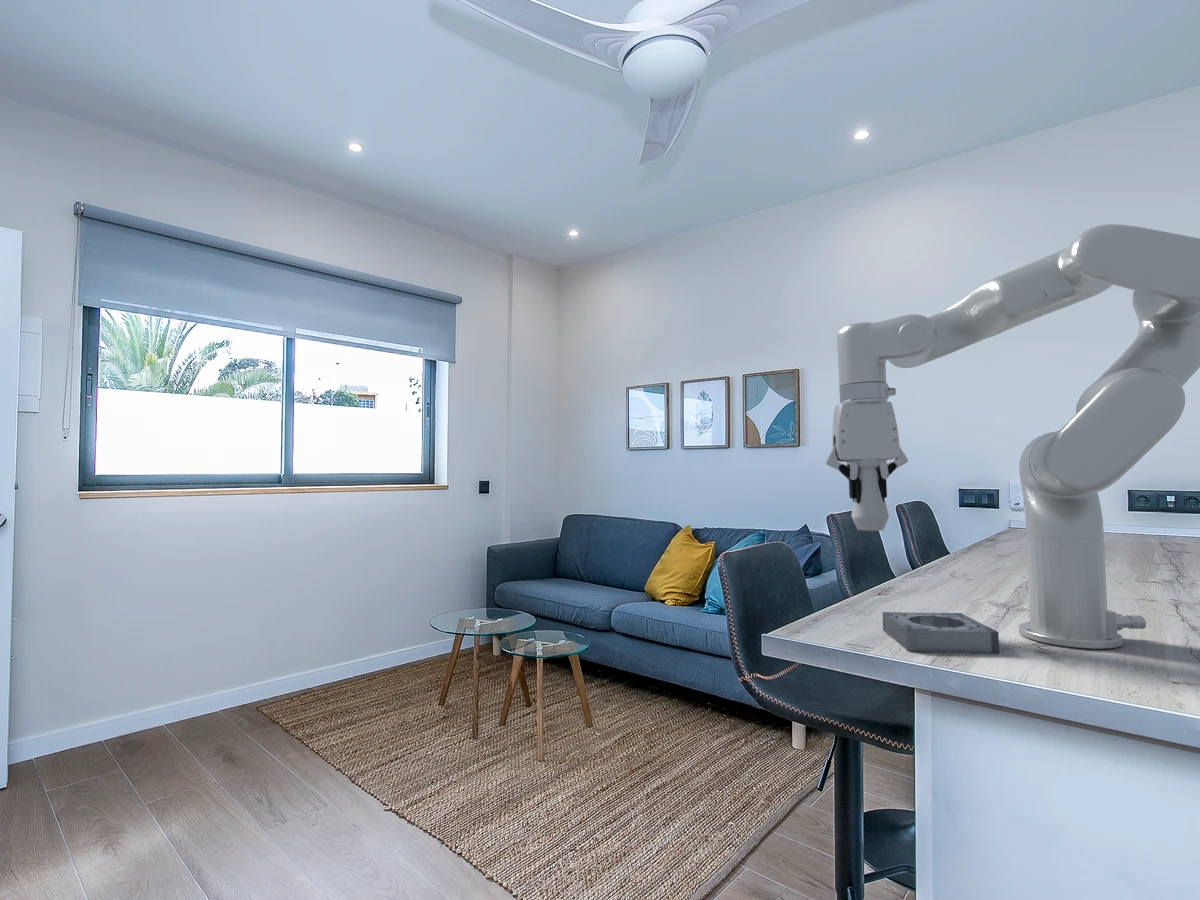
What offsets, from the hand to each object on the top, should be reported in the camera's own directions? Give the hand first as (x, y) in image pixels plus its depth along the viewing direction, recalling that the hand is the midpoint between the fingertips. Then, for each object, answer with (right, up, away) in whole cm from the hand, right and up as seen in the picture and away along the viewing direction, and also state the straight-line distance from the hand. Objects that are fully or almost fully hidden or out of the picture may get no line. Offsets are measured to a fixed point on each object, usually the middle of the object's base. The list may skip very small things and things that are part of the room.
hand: (868, 501), depth 105 cm
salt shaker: (0, -5, 0) cm, 5 cm away
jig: (+6, -20, -11) cm, 24 cm away
